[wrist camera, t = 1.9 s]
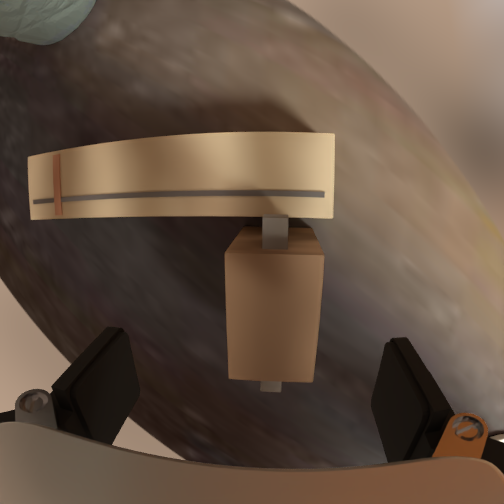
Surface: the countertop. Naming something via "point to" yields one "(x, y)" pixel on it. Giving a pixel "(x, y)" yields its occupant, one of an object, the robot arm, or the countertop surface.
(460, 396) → the countertop surface
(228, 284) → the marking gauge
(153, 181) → the guide plank
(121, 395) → the robot arm
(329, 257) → the countertop surface
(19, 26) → the green cup
